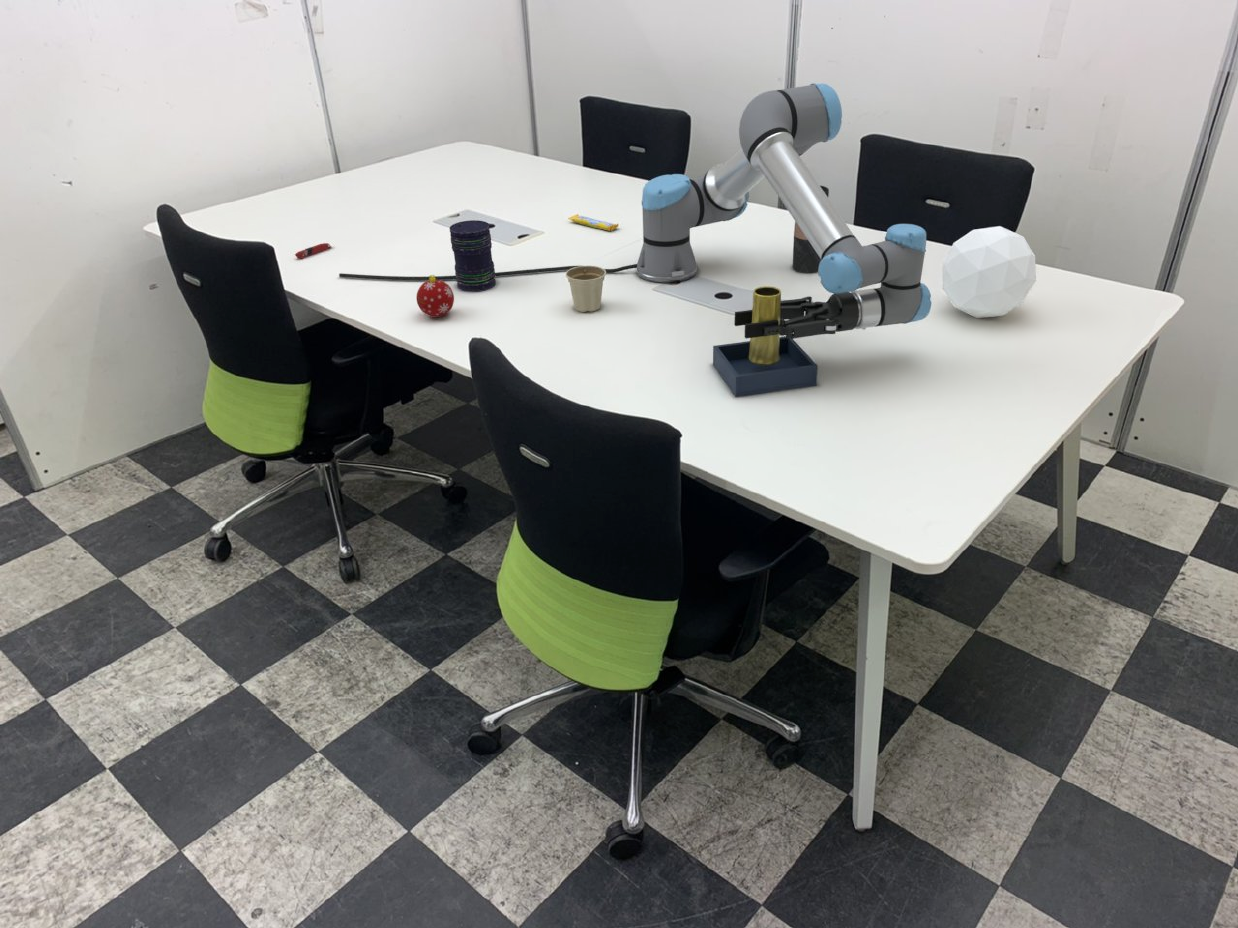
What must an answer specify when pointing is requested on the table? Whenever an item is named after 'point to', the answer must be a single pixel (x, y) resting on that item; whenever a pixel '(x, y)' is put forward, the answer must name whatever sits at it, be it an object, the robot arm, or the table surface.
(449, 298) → the christmas ornament
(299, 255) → the utility knife
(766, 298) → the vase
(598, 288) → the flower pot
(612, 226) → the candy bar
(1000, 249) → the geometric polyhedron
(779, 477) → the table surface
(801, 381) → the tray
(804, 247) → the travel mug
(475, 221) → the storage jar
